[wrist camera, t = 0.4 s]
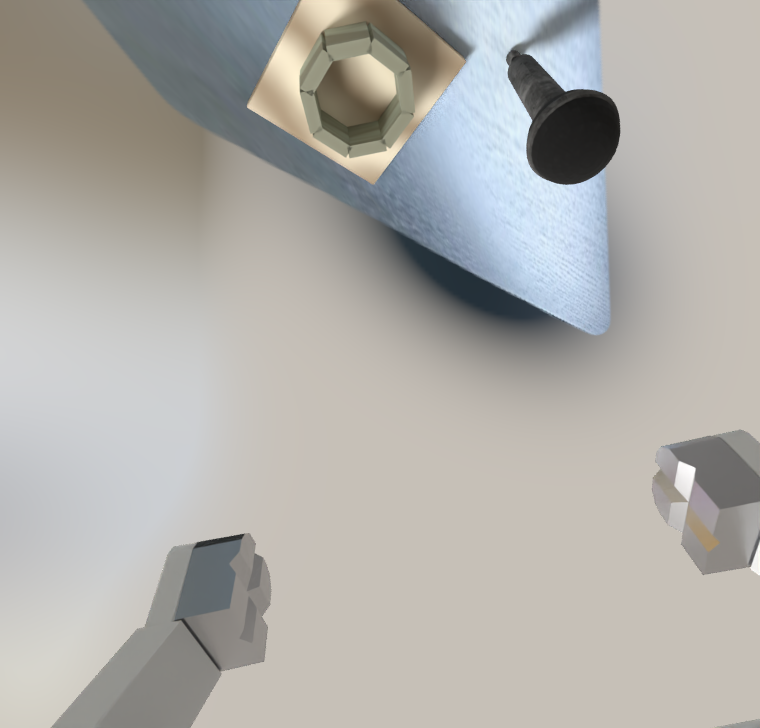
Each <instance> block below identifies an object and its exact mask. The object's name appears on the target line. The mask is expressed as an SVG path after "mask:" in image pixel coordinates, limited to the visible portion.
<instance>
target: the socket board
mask: <svg viewBox="0 0 760 728" xmlns="http://www.w3.org/2000/svg"><path fill="white" fill-rule="evenodd" d="M465 63H466V60H465V59H464V57H463V56H462V55H461V54H460V53H458V52H457V51H456V50H455V49H454V48H453V47H451V46H450V45H449V44H448V43H447V42H446V41H445V40H443V39H442V38H441V37H440V36H439V35H438V34H436V33H435V32H434V31H433V30H432V29H431V28H430V27H428V26H427V25H426V24H425V23H424V22H423V21H422V20H420V19H419V18H418V17H417V16H416V15H415V14H413V13H412V12H411V11H410V10H409V9H408V8H407V7H405V6H404V5H403V4H402V3H401V2H400V1H399V0H299V2H298V4H297V6H296V8H295V10H294V12H293V14H292V16H291V18H290V20H289V22H288V24H287V26H286V28H285V30H284V32H283V34H282V36H281V38H280V40H279V42H278V44H277V46H276V48H275V49H274V51H273V53H272V55H271V57H270V59H269V61H268V63H267V65H266V67H265V69H264V71H263V73H262V75H261V77H260V79H259V81H258V83H257V85H256V87H255V89H254V91H253V93H252V95H251V97H250V99H249V101H248V104H247V108H249V109H251V110H252V111H254V112H256V113H257V114H259V115H260V116H262V117H264V118H265V119H267V120H269V121H270V122H272V123H273V124H275V125H277V126H278V127H280V128H282V129H283V130H285V131H287V132H288V133H290V134H291V135H293V136H295V137H296V138H298V139H300V140H301V141H303V142H304V143H306V144H308V145H309V146H311V147H313V148H314V149H316V150H317V151H319V152H321V153H322V154H324V155H326V156H327V157H329V158H331V159H332V160H334V161H335V162H337V163H339V164H340V165H342V166H344V167H345V168H347V169H348V170H350V171H352V172H353V173H355V174H357V175H358V176H360V177H362V178H363V179H365V180H366V181H368V182H370V183H371V184H373V185H374V183H375V182H376V181H377V179H378V178H379V177H380V175H381V174H382V173H383V171H384V170H385V169H386V167H387V166H388V165H389V163H390V162H391V161H392V159H393V158H394V157H395V155H396V154H397V153H398V151H399V150H400V149H401V148H402V146H403V145H404V144H405V142H406V141H407V140H408V138H409V137H410V136H411V134H412V133H413V132H414V130H415V129H416V128H417V126H418V125H419V124H420V122H421V121H422V120H423V118H424V117H425V116H426V114H427V113H428V112H429V110H430V109H431V108H432V106H433V105H434V104H435V102H436V101H437V100H438V98H439V97H440V96H441V95H442V93H443V92H444V91H445V89H446V88H447V87H448V85H449V84H450V83H451V81H452V80H453V79H454V77H455V76H456V75H457V73H458V72H459V71H460V69H461V68H462V67H463V65H464V64H465Z"/></svg>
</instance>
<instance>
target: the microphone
mask: <svg viewBox="0 0 760 728" xmlns="http://www.w3.org/2000/svg"><path fill="white" fill-rule="evenodd" d="M506 61H507V64H508V65H509V69H508V78H509V80H510V82H511V84H512V85H513V87H514V89H515V91H516V92H517V94H518V96H519V98H520V99H521V101H522V103H523V105H524V106H525V108H526V110H527V112H528V113H529V115H530V117H531V119H532V120H533V121H532V124H531V126H530V128H529V133H528V139H527V150H526V151H527V159H528V162H529V165H530V167H531V168H532V170H533V171H534V172H535V173H536V174H537V175H539V176H540V177H542V178H544V179H546V180H549V181H551V182H554V183H557V184H565V185H569V184H577V183H581V182H583V181H586V180H588V179H590V178H592V177H594V176H595V175H597V174H598V173H599V172H600V171H601V170H602V169H604V168H605V167H606V165H607V164H608V163H609V162H610V160H611V159H612V157H613V155H614V154H615V152H616V148H617V146H618V142H619V137H620V119H619V113H618V110H617V107H616V105H615V103H614V102H613V101H612V99H611V98H610V97H608V96H607V95H605V94H603V93H601V92H598V91H595V90H584V89H577V90H571V91H567V92H565V91H564V90H563V89H562V88H561V87H560V86H559V85H558V84H557V83H556V81H555V80H554V79H553V78H552V77H551V76H550V75H549V74H548V73H547V72H546V71H545V70H544V69H543V68H542V67H541V66H540V64H539V63H538V62H537V61H536V60H535V59H534V58H533V57H532V56H530V55H527V54H523V55H520V54H519V52H518V51H515V50H513V51H511V52H509V53H508V55H507V57H506Z"/></svg>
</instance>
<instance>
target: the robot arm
mask: <svg viewBox="0 0 760 728" xmlns="http://www.w3.org/2000/svg"><path fill="white" fill-rule="evenodd" d="M656 463H657V464H658V465H659V467H660V468H661V470H660V471H659V472H658V473H657V474H656V475H655V476H654V477H653V484H652V492H653V496H654V500H655V504H656V506H657V508H658V510H659V512H660V514H661V516H662V517H663V518H664V520H665V521H666V523H667V524H668V525H669V526H671V527H673V528H675V529H677V530H679V531H680V532H682V533H683V535H682V543H681V544H682V546H683V547H684V549H685V550H686V552H687V553H688V554H689V556H690V557H691V559H692V560H693V561H694V563H695V564H696V566H697V567H698V568H699V570H700V571H701V572H702V574H703V575H704V574H711V573H717V572H722V571H728V570H734V569H740V568H746V567H751V568H750V569H751V570H752V571H754V572H755V573H757V574H758V575H760V443H759V442H758V441H757V440H756V439H755V438H753V436H751V435H750V434H749V433H747V432H745V431H743V430H738V431H732V432H728V433H723V434H718V435H714V436H707V437H702V438H698V439H693V440H689V441H685V442H680V443H675V444H670V445H666V446H661V447H660V448H659V450H658V451H657V454H656ZM255 545H256V543H255V542H254V540H253V538H252V537H251V535H250V534H249V533H248V534H240V535H234V536H229V537H224V538H217V539H212V540H206V541H201V542H197V543H192V544H186V545H181V546H175V547H173V548H172V549H171V551H170V552H169V553H168V555H167V557H166V560H165V564H164V567H163V570H162V573H161V576H160V580H159V583H158V586H157V589H156V593H155V596H154V599H153V602H152V605H151V608H150V612H149V615H148V618H147V621H146V624H145V627H143V628H139V629H137V630H136V631H135V632H134V633H133V634H132V635H131V636H130V638H129V639H128V640H127V641H126V642H125V643H124V645H123V646H122V647H121V648H120V649H119V650H118V651H117V653H116V654H115V655H114V656H113V657H112V658H111V659H110V661H109V662H108V663H107V664H106V665H105V666H104V667H103V669H102V670H101V671H100V672H99V673H98V675H96V677H95V678H94V679H93V680H92V681H91V682H90V684H89V685H88V686H87V687H86V688H85V689H84V690H83V691H82V693H81V694H80V695H79V696H78V697H77V698H76V700H75V701H74V702H73V703H72V704H71V705H70V706H69V708H68V709H67V710H66V711H65V712H64V713H63V714H62V716H61V717H60V718H59V719H58V720H57V721H56V722H55V724H54V725H53V726H52V727H51V728H190V727H191V726H192V724H193V722H194V720H195V719H196V717H197V715H198V714H199V712H200V710H201V709H202V707H203V705H204V703H205V702H206V700H207V698H208V697H209V695H210V693H211V691H212V690H213V688H214V686H215V685H216V683H217V681H218V679H219V678H220V676H221V671H225V670H229V669H233V668H238V667H242V666H247V665H251V664H255V663H260V662H264V658H265V648H266V639H267V630H268V627H267V625H266V623H265V621H264V620H263V618H262V616H263V614H264V613H265V611H266V610H267V608H268V607H269V606H270V599H271V583H270V575H269V571H268V567H267V565H266V563H265V560H264V559H263V557H261V556H259V555H257V554H255V553H254V552H255ZM715 728H760V719H757V720H752V721H746V722H741V723H736V724H730V725H725V726H720V727H715Z"/></svg>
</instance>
